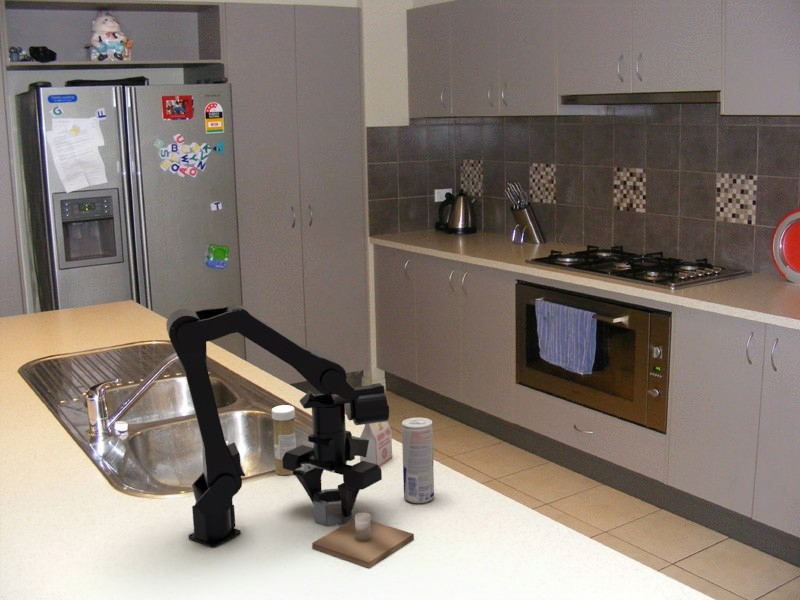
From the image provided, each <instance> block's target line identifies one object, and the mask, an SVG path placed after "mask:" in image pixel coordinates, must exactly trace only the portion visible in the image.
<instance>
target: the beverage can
mask: <svg viewBox="0 0 800 600" xmlns="http://www.w3.org/2000/svg"><path fill="white" fill-rule="evenodd" d="M433 432H434V430H433V421H432V419H429V418H426V417H411V418H406V419H404V420H402V422H401V439H402V440H401V441H402V442H401V443H402V445H401V446H402V474H403V475H402V476H403V477H402V478H403V498H404V499H405V500H406V501H407V502H410V503H414V504H425V503H428V502H430V501H432V500H433V499H434V498H435V482H434V481H435V477H434V476H435V475H434V474H435V473H434V434H433Z"/></svg>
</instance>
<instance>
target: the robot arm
mask: <svg viewBox="0 0 800 600" xmlns="http://www.w3.org/2000/svg"><path fill="white" fill-rule="evenodd" d="M165 324H166V331H167V334H168V335H167V336H168V338H169V340H170V343H171V345H172V347H173V349H174V351H175V354H176V355H177V358H178V360H179V363H180V364H181V366H182V368H183V371H184V374H185V379H186V382H187V386H188V390H189V393H190V394H189V395H190V398H191V401H192V407H193V409H194V414H195V417H196V421H197V426H198V430H199V434H200V438H201V441H202V442H201V443H202V453H201V454H202V456H201V457H202V470H203V471H202V473H201V474H200V475H199V476H198V478H196V480H195V481H193V483H192V484H191V488H192V492H193V496H194V500H195V504H194V505H192V506H191V509H192V522H193V523H192V524H193V532H191V533H189V534H188V539H190V540H192V541H195V542H198V543H200V544H203V545H206V546H208V547H211V548H215V547H217V546H219V545H221V544H223V543H225V542H227V541H229V540H231V539H233V538H235V537H237V536H239V535H240V534H241V533H242V532H241V529H238V528H236V514H235V513H236V512H235V505H234V504H233V498H234V496H236V495H237V494H238V493H239V491H240V490H241V488H242V486H243V479H242V477H246V473H245V471H244V469H243V466H242V464H241V455H240V452H239V449H238V446H237V444H236V442H232V443H230V444H228V443H227V441H226V439H225V436H224V430H223V428H222V423H221V419H220V418H221V417H220V415H219V411H218V407H217V402H216V399H215V394H214V391H213V390H214V389H213V387H212V386H213V385H212V383H211V379H210V378H211V377H210V374H209V370H208V364H207V356H208V354H207V352H208V351H207V343H208V342H213V341H215V340H217V339H220V338H223V337H225V336H228V335H232V334H235V333H238V334H240V335H242V336H243V337H245V338H246V339H247V340H249V341H251V342H252V343H255V344H256V345H258V346H259V347H260V348H262V349H264V350H265V351H267V352H268V353H270V354H271V355H273V356H275V357H276V358H278V359H279V360H281V361H283V362H285V363H286V364H288V365H289V366H291V367H292V368H293V369H295V371H297V372H298V373H299V374H300V375H301V376H302V377H303V378H304V379H305V380H306V381H307V382H308V383H309V384H310V385H311V386H312V387H314V388H315V389H316V390H317V392H319V394H317V393H316V394H314V393H313V392H312V391H310V390H307V391H306V394H305V395H304V396H302V397H301V398H300V399H299V403H300V405H301V406H302V408H303V409H304V410H305V409H307V410H308V409H311V417H312V418H311V422H312V423H311V424H312V434H310V435H307V438H308V439H307V440H308V442H310V443H312V445H313V447H311V446H308V445H304V444H302V445H299V446H296V448H294V449H292V450H290V451H287V452H285V454H284V456H283V458H282V461H283V468H284V469H287V470H291V471H293V474H292V476H295V478H297V480H298V481H299V483H300V485H301V486H302V487H303V489H304V491H305V492H306V494H307V495H308V497H309V499H310V501H311V503H312V504H313V505H314V500H313V495H314V494H316V493H318V492H320V491H322V490H323V489H322V476H323V473H324V471H327V472H330V473H335V474H337V475H341V476H342V481H343V483H340V484H338V485H337V488H338V490H339V495H340V499H341V504H342V508H343V512H344V515H345V517H349V516H350V515H351V513H352V514H353V509H354V506H355V504H356V502H357V501H356V500H357V497H358V495H359V492H360V491H362V490H365V489H366V488H369V487H370V486H372V485H375V484H376V483H378V482H380V481H382V480H383V477H382V476H383V475H382V468H381V467H382V466H378V465H377V464H374V463H370V462H366V461H361V462H360V461H359V462H357V463H355V464H352V465H351V464H348V463H347V462H352V461H353V460H355V459H356V458H355V457H360V456H362V457H366V455H367V450H368V444H369V440H367V439H363V438H360V436H355V435H352V432H351V431H349V430H346V418H347V419H348V421H353V424H354V426H361V425H365V424H371V423H378V422H386V421H387V422H388V421H389V417H390V405H389V404H388V399H387V395H386V392H385V386H384V385H383V384H382V383H381V382H378V383H371V384H370V385H360V386H353V385H352V383H351V382H350V381H349V380H347V373H346V372H347V371H346V370H345V368H344V367H343V366H342V365H341V364H340V362H338V361H337V360H336V359H335V358H334V357H332V356H331V355H328V354H326V353H324V352H321V351H319V350H316V349H314V348H310V347H306V346H304V345H302V344H300V343H299V342H297V341H295V340H293V339H292V338H290V337H289V336H287V335H285V334H284V333H283V332H281V331H279V330H278V329H276V328H275V327H273V326H272V325H271V324H269V323H267V322H265V321H264V320H263V319H261V318H259V317H258V316H257V315H254V313H251V312H249V311H248V310H247V309H246V308H245V307H244V305H241V304H236V303H235V304H231V305H228V306H223V307H212V308H204V309H203V308H202V309H200V310H199V309H198V310H192V309H188V308H179V309H177V310H174V311H173V312H172V313H171V314H170V315H169V317H168V318H167V320H166V323H165ZM333 395H334V396H333Z"/></svg>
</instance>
